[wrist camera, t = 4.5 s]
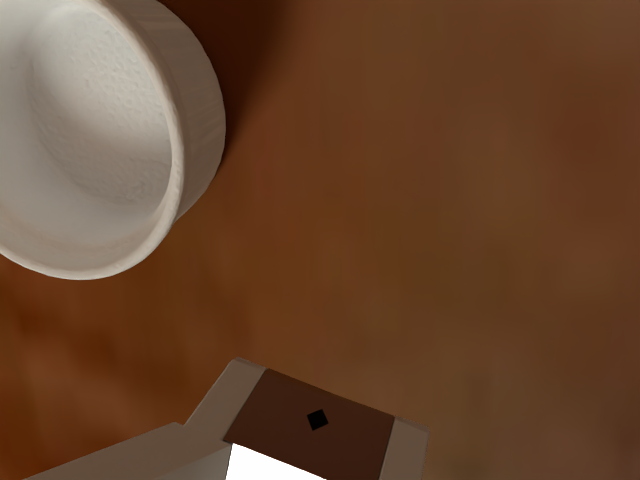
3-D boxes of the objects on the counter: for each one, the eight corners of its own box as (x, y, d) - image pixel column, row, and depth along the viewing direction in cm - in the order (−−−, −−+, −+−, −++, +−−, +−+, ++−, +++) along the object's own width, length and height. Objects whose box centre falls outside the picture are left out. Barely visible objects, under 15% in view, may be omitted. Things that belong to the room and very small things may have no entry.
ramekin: (40, -89, 19) (-82, -106, 15) (287, 50, 18) (228, 69, 14) (-7, 153, 23) (-111, 189, 19) (193, 271, 22) (127, 332, 18)
